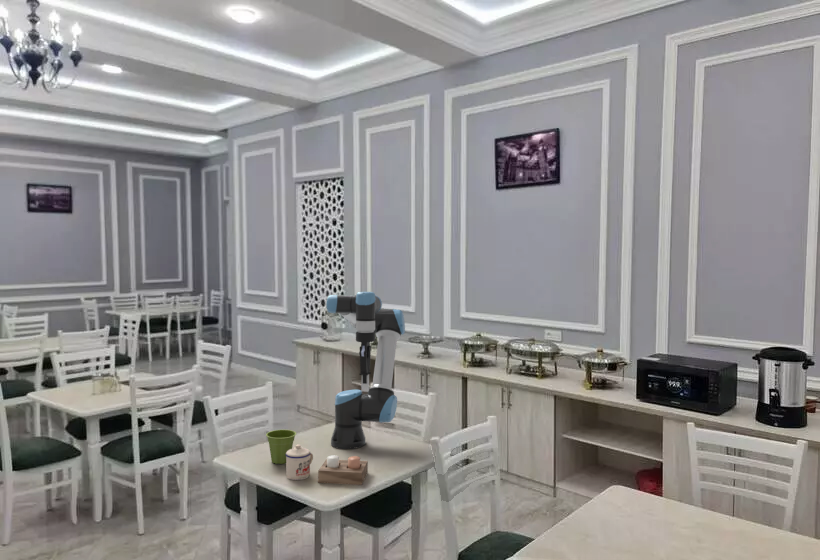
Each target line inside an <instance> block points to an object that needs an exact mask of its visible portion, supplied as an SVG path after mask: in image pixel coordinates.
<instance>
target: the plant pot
mask: <svg viewBox="0 0 820 560" xmlns="http://www.w3.org/2000/svg"><path fill="white" fill-rule="evenodd" d="M296 435H297V432H296V431H294V430H291V429H274V430H271V431H268V432H266V434H265V436H266V437H267V442H268V447H269V452H270V458H271V459H270V460H271V463H273V464H274V463H275V465H278V464H281V465H284V464H286V452H287V451H288V450H290V449H293V445H294V441H295V437H296Z"/></svg>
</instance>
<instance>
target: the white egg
mask: <svg viewBox="0 0 820 560" xmlns="http://www.w3.org/2000/svg"><path fill="white" fill-rule="evenodd" d="M326 459H327V467H328V468H338V467H339V460H340V456H339V455H336V454H335V455H334V454H333V455H332V454H331V455H328V456H327V457H326Z"/></svg>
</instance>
